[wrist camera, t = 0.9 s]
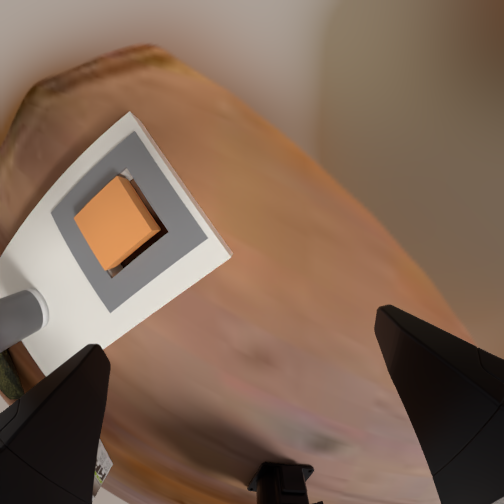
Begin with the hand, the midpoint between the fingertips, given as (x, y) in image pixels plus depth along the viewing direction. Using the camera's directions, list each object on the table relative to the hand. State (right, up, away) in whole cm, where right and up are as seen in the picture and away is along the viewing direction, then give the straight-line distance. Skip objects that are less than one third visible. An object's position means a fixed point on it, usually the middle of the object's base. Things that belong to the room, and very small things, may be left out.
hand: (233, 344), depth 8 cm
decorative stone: (-31, -10, +15) cm, 36 cm away
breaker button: (-9, +5, +12) cm, 16 cm away
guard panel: (-15, +1, +14) cm, 20 cm away
